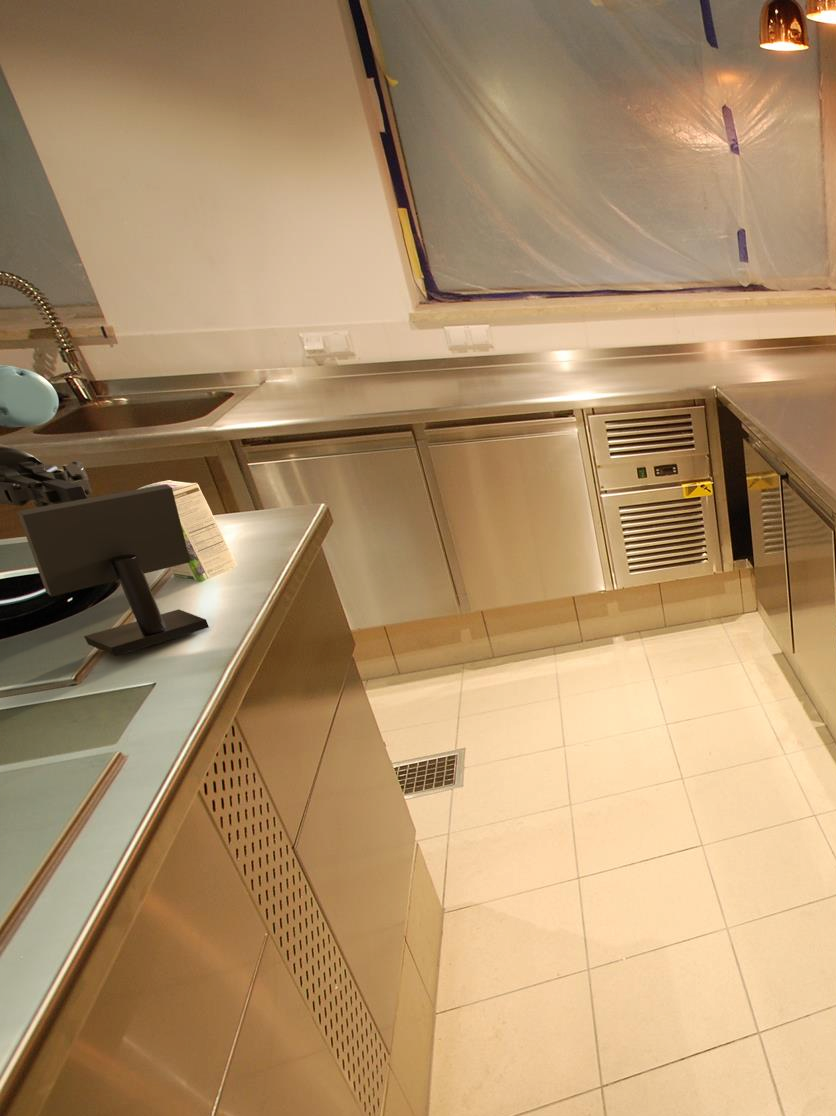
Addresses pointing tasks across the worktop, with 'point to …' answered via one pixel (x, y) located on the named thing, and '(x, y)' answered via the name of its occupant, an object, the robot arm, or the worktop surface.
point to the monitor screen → (104, 537)
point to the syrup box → (198, 535)
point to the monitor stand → (142, 615)
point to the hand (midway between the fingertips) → (78, 498)
